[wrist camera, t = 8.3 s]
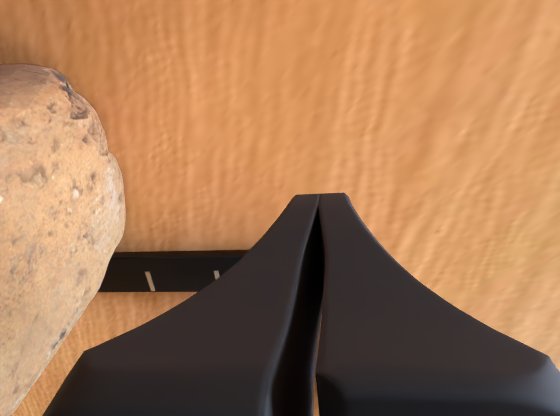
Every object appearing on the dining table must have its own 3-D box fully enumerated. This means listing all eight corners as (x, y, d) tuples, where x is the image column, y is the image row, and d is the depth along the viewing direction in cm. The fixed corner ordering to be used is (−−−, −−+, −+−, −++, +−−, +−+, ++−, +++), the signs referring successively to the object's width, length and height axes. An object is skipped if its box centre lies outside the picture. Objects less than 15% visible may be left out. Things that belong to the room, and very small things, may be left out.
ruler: (327, 284, 23) (326, 292, 23) (6, 286, 26) (-1, 293, 26) (325, 247, 22) (325, 255, 22) (-12, 254, 25) (-20, 261, 24)
